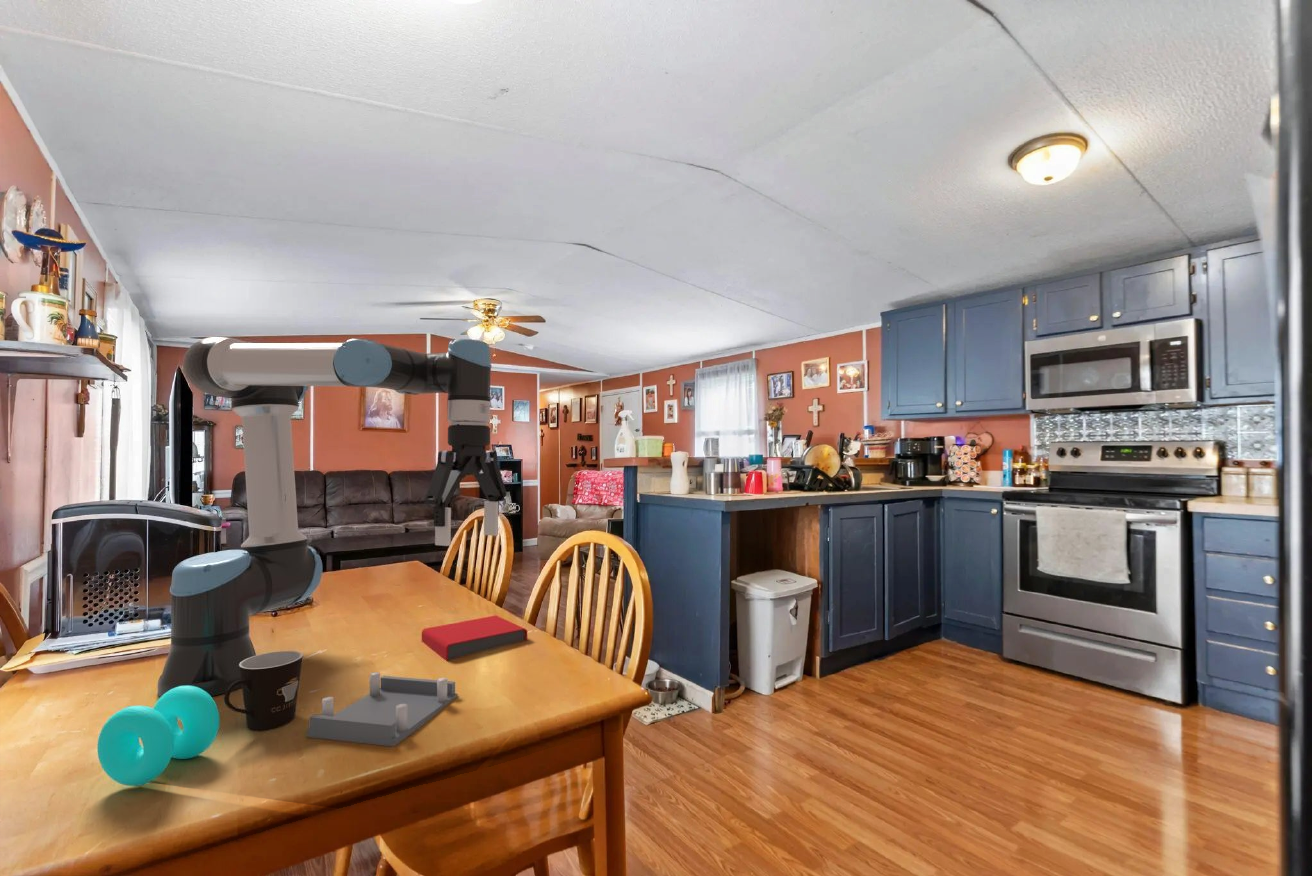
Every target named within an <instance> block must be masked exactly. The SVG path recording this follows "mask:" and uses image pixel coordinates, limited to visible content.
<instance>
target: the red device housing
mask: <svg viewBox="0 0 1312 876" xmlns="http://www.w3.org/2000/svg"><path fill="white" fill-rule="evenodd" d="M523 641H528V630H527V629H526V628H524V627H522V626H520V625H517V624H515V623H514V622H512V621H510V620H507V619H505V618H503V617H501V616H499V615H491V616H485V617H480V618H476V619H475V618H474V619H469V620H464V621H458V622H454V623H453V622H452V623H448V624H442V625H437V626H433V627H427V628H425V627H424V628H423V629H422V631H421V642H422V643H424V645H426V646H427V647H428V648H430V649H431V650H432V651H433V652H434V653H436V654H437V655H438V656H439V657H440V658H442V659H443V660H444V661H445V660H446V662H448V661H449V660H452V659H457V658H460V657H463V656H469V655H472V654H476V653H479V652H480V653H481V652H482V651H487V650H492V649H496V648H499V647H503V646H507V645H510V644H515V643H519V642H523Z"/></svg>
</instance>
